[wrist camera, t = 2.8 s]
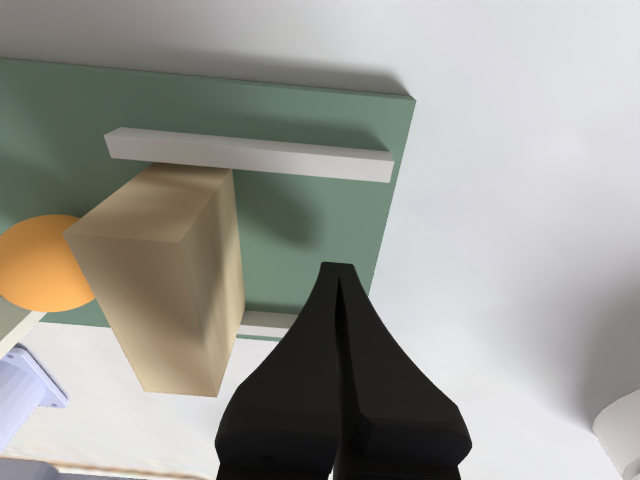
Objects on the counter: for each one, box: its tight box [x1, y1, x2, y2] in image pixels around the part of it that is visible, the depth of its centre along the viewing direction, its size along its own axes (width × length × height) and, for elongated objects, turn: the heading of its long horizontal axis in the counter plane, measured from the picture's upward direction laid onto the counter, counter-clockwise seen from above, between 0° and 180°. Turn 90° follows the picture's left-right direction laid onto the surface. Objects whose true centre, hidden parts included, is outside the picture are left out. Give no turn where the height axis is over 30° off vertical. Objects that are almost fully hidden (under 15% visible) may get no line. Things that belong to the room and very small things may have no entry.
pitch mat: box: [0, 58, 416, 342], centre depth 14 cm, size 25×14×2 cm, turn 86°
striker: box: [62, 162, 246, 397], centre depth 12 cm, size 3×8×5 cm, turn 176°
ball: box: [0, 214, 95, 312], centre depth 12 cm, size 4×4×4 cm
